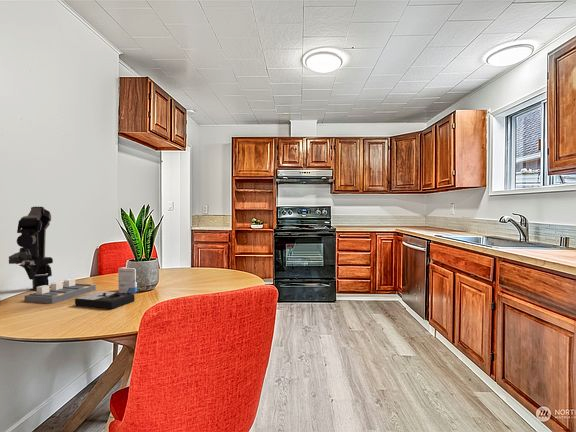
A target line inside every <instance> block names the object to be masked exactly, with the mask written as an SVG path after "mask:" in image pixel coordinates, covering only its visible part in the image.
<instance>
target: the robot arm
mask: <svg viewBox="0 0 576 432" xmlns="http://www.w3.org/2000/svg"><path fill="white" fill-rule="evenodd" d="M50 222H52V214H51V212H50V210H47V209H45V207H44V206H31V208H30V211H29V212H28V214H27V215H25V216H22V217H21V218H20V219H19V220H18V225H17V230H16V233H17V234H20V235H19V236H18V237H17V239H16V244H17V245H18V246H19V247H20V248H19V251H18V252H15V253H13V254H12V255H9V256H8V264H9V265H14V264H16V265H18V266H20V267H21V268H23V269H24V271H25V273H26V274H27V277H28V279H29V280H30V281H32V288H29V291H37V287H39V286H43V285H49V277H53V275H52V274H53V273H52V267H51V266H50V264H53V262H54V259H53V257H50V256H46V230H47V229H48V227H49V226H50V225H51V224H50ZM49 289H51V286H50V285H49Z"/></svg>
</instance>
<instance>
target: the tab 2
mask: <svg viewBox="0 0 576 432" xmlns="http://www.w3.org/2000/svg"><path fill="white" fill-rule="evenodd" d="M63 286H64V281H56V282H52V283H50V287H51V288H50V289H51V290H59V289H63Z"/></svg>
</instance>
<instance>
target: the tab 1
mask: <svg viewBox="0 0 576 432" xmlns="http://www.w3.org/2000/svg"><path fill="white" fill-rule="evenodd" d="M49 287H50V285H43V286H39V287H37V290H36V293H37V294H44V293H48V292H50V290H49V289H50V288H49Z"/></svg>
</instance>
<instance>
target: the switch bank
mask: <svg viewBox="0 0 576 432" xmlns="http://www.w3.org/2000/svg"><path fill="white" fill-rule="evenodd" d="M96 288H97V287H96V285H95V284H91V283H76V282H75V285H74V286H70V287H64V285H63V289H59V290H51V288H49V290H50V292H48V293H44V294H37V292H34V293H29V294H27V295H24V296H23V297H24V303H25V302H26V303H42V304H56V303H58V302H61V301H65V300H69V299H72V298H75V297H78V296H79V297H80V296H82V295H85V294H89V293H90V292H94V291H95V292H96V290H97V289H96Z"/></svg>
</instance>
